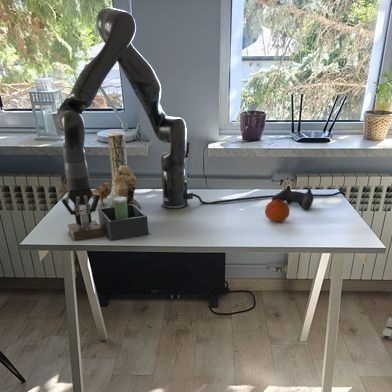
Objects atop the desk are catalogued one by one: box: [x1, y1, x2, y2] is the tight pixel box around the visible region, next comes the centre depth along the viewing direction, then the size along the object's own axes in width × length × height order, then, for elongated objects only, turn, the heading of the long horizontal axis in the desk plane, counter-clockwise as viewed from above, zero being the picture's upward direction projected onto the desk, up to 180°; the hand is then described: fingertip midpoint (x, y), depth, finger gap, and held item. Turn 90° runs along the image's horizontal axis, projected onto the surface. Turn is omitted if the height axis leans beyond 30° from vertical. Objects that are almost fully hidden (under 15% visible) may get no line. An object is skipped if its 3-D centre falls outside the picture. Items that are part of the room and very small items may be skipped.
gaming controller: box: [271, 184, 314, 211], centre depth 203 cm, size 17×6×10 cm
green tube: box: [113, 197, 128, 220], centre depth 179 cm, size 5×5×11 cm
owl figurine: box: [109, 165, 141, 209], centre depth 197 cm, size 18×12×17 cm, turn 176°
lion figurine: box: [89, 182, 113, 208], centre depth 204 cm, size 15×5×9 cm, turn 95°
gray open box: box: [97, 204, 149, 241], centre depth 180 cm, size 14×16×7 cm
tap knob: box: [79, 208, 90, 229], centre depth 176 cm, size 6×2×5 cm, turn 24°
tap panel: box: [67, 219, 103, 241], centre depth 178 cm, size 10×10×3 cm
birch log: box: [107, 130, 128, 181], centre depth 213 cm, size 7×7×25 cm
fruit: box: [264, 199, 290, 223], centre depth 187 cm, size 9×9×8 cm
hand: (84, 224), depth 177 cm, fingers closed on tap knob, 2 cm apart
